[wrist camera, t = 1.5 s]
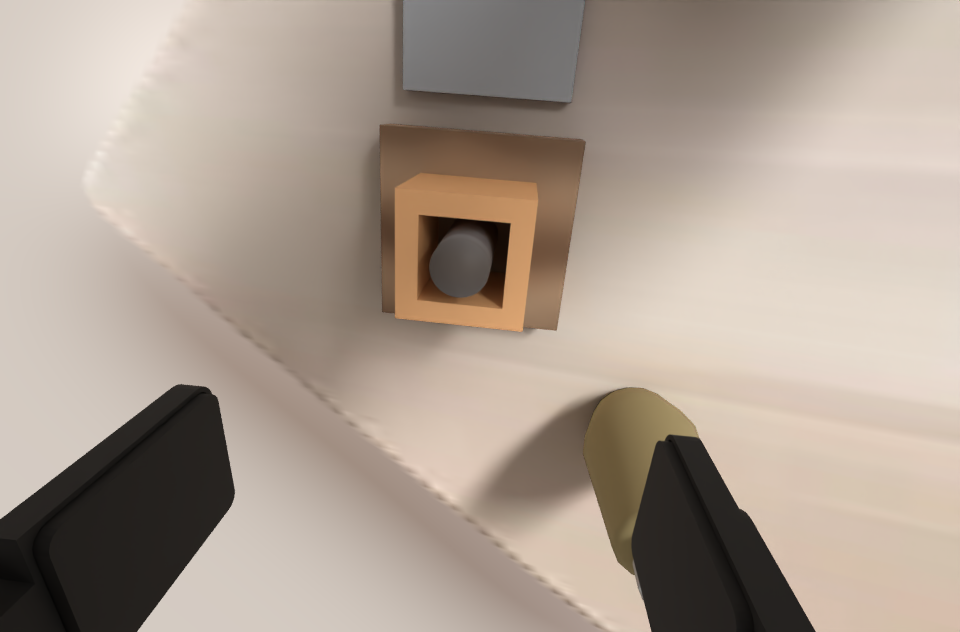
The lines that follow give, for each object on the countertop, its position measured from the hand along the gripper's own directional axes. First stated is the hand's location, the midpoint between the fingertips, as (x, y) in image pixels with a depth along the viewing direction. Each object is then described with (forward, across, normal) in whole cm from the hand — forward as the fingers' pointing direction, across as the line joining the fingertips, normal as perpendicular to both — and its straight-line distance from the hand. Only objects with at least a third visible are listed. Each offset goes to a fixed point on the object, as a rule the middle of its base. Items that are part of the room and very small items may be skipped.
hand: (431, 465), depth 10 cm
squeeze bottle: (+24, -12, +14) cm, 30 cm away
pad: (+24, +1, -13) cm, 27 cm away
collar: (+21, +1, 0) cm, 21 cm away
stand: (+24, +1, 0) cm, 24 cm away
